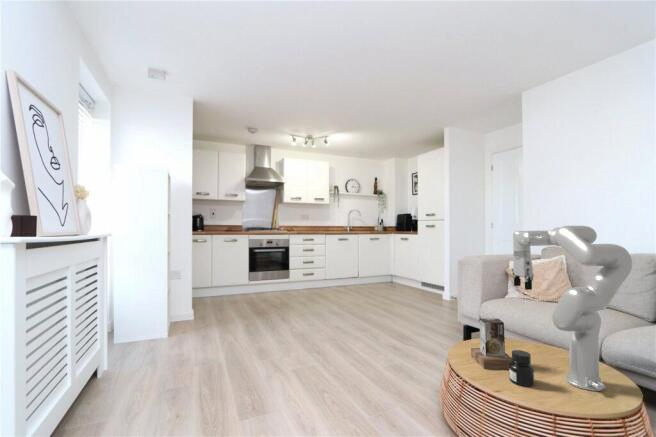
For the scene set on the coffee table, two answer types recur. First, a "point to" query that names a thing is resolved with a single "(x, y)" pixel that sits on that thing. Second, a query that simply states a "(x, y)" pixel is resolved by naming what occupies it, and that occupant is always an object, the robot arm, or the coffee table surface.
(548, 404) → the coffee table surface
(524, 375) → the ink bottle
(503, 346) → the coffee box
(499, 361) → the walnut block
